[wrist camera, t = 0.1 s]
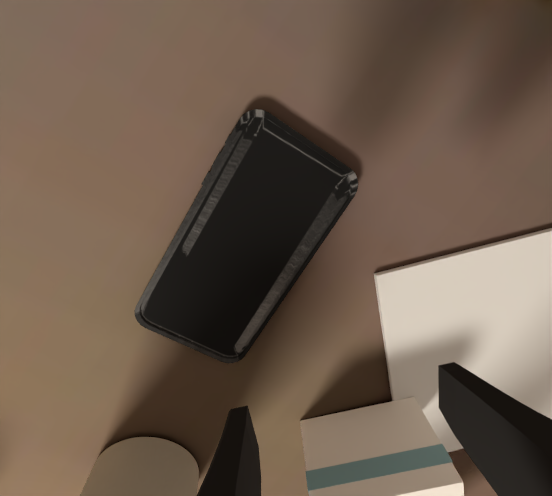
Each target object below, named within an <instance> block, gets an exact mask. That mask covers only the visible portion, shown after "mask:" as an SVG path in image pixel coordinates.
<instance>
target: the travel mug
mask: <svg viewBox="0 0 552 496" xmlns="http://www.w3.org/2000/svg"><path fill="white" fill-rule="evenodd" d="M198 480H199V469H198V465H197V463H196V461H195V459H194V457H193V456H192V455H191V454H190V453H189V452H188V451H187V450H186V449H184V448H183V447H181V446H180V445H178V444H176V443H174V442H171V441H169V440H165V439H161V438H155V437H136V438H130V439H126V440H123V441H120V442H118V443H115V444H113V445H112V446H110V447H109V448H107V449H106V450H105V451H103V452H102V453H101V455H100V456H99V457H98V458H97V460H96V462H95V464H94V466H93V468H92V470H91V473H90V475H89V477H88V479H87V481H86V483H85V486H84V488H83V490H82V492H81V494H80V496H196V494H197V487H198Z"/></svg>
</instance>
